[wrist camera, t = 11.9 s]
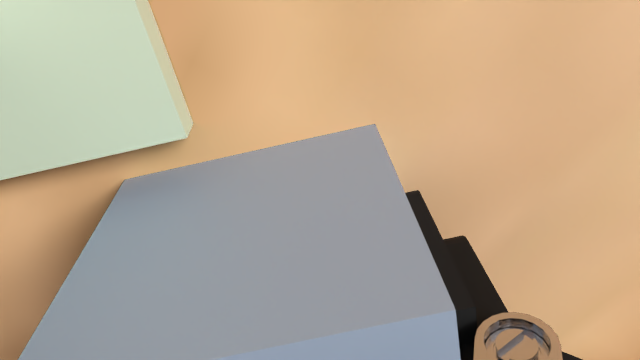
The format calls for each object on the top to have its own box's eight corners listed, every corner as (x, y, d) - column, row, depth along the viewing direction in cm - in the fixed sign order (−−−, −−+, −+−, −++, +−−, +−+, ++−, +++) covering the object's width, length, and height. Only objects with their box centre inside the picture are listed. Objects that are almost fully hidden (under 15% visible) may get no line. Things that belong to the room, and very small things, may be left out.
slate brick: (406, 311, 14) (480, 547, 9) (206, 352, 14) (162, 605, 9) (375, 123, 11) (455, 309, 6) (124, 179, 11) (-10, 404, 6)
